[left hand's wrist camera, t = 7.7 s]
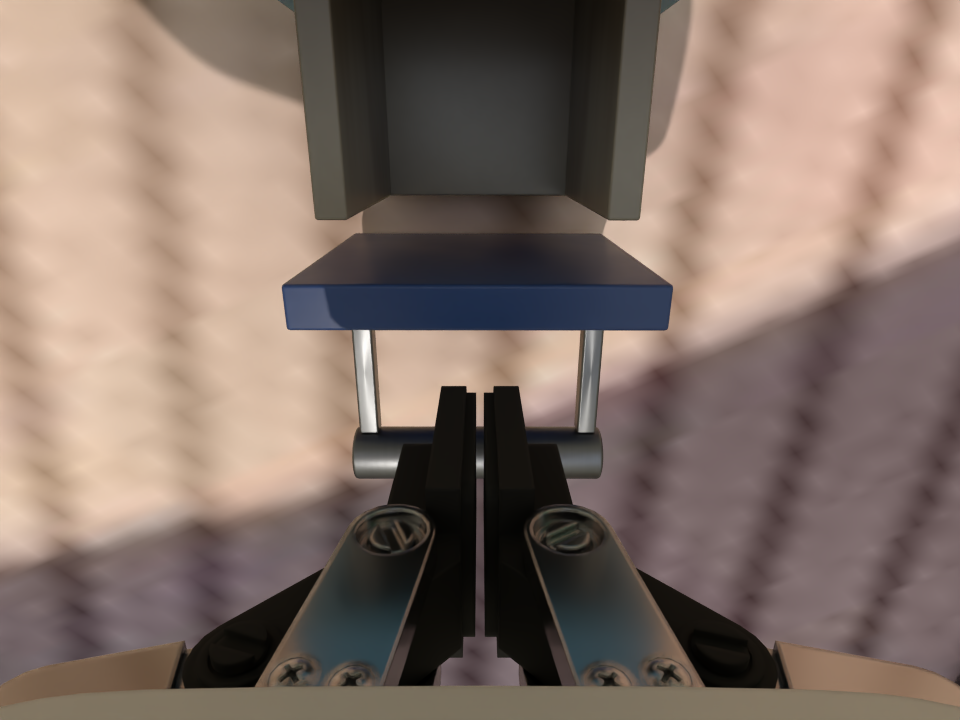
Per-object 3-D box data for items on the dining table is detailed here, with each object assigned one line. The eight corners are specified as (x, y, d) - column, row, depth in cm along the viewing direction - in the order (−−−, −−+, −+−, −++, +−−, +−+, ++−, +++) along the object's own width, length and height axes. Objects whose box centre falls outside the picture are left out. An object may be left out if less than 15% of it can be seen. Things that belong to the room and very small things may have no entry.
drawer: (589, 396, 25) (644, 522, 16) (366, 396, 25) (310, 522, 16) (629, -124, 18) (754, -348, 10) (327, -124, 18) (200, -349, 10)
